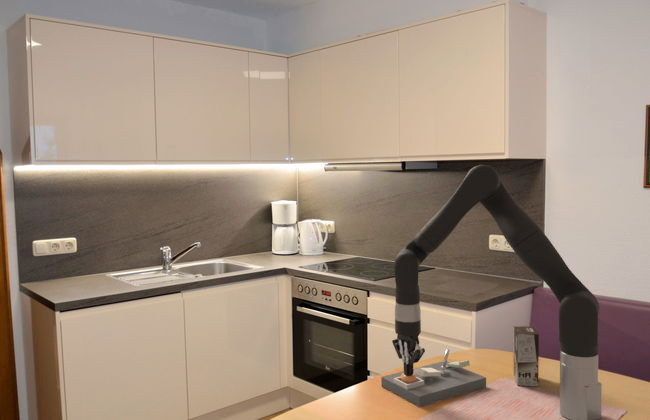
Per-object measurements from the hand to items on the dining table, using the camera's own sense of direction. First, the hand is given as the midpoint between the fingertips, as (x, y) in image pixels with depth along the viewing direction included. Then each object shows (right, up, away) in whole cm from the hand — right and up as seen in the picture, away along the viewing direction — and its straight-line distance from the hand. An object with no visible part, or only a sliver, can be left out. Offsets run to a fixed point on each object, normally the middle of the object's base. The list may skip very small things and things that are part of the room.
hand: (408, 374), depth 165 cm
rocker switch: (+6, -1, +3) cm, 7 cm away
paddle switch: (+17, 0, +10) cm, 20 cm away
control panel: (+8, -5, +5) cm, 11 cm away
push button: (0, -2, 0) cm, 2 cm away
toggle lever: (+12, 0, +7) cm, 14 cm away
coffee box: (+38, -4, +8) cm, 39 cm away
